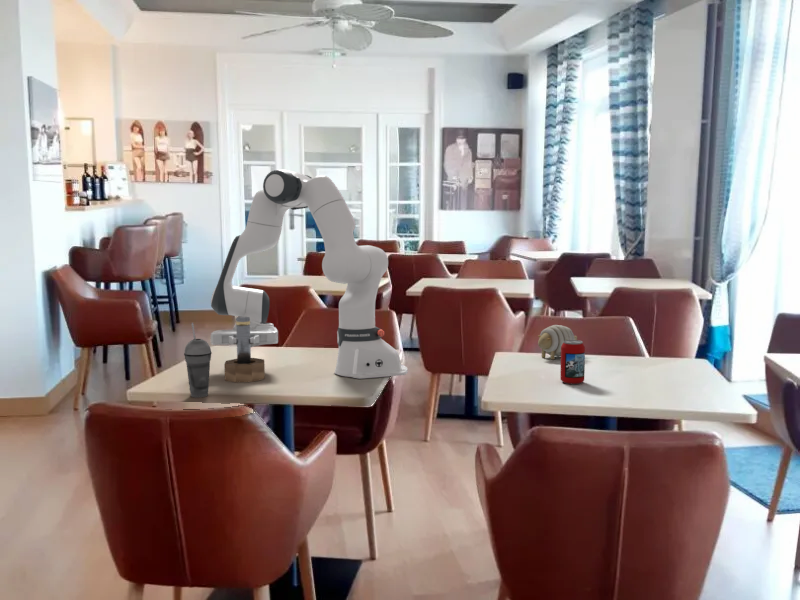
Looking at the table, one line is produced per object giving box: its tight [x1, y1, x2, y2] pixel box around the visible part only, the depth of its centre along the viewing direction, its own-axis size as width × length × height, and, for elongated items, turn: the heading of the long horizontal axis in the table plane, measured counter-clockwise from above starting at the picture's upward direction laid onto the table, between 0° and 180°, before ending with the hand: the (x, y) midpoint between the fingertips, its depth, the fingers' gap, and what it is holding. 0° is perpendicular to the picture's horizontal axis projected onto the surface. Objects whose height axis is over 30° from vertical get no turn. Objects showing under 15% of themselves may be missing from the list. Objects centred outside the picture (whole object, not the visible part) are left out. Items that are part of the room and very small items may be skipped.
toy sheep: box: [537, 324, 578, 361], centre depth 257 cm, size 11×17×11 cm, turn 127°
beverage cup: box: [183, 322, 213, 398], centre depth 206 cm, size 7×7×20 cm
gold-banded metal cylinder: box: [235, 316, 252, 364], centre depth 227 cm, size 4×4×16 cm
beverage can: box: [560, 339, 586, 385], centre depth 219 cm, size 7×7×12 cm
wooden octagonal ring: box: [224, 357, 266, 383], centre depth 228 cm, size 12×12×5 cm
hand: (243, 341), depth 226 cm, fingers closed on gold-banded metal cylinder, 4 cm apart
